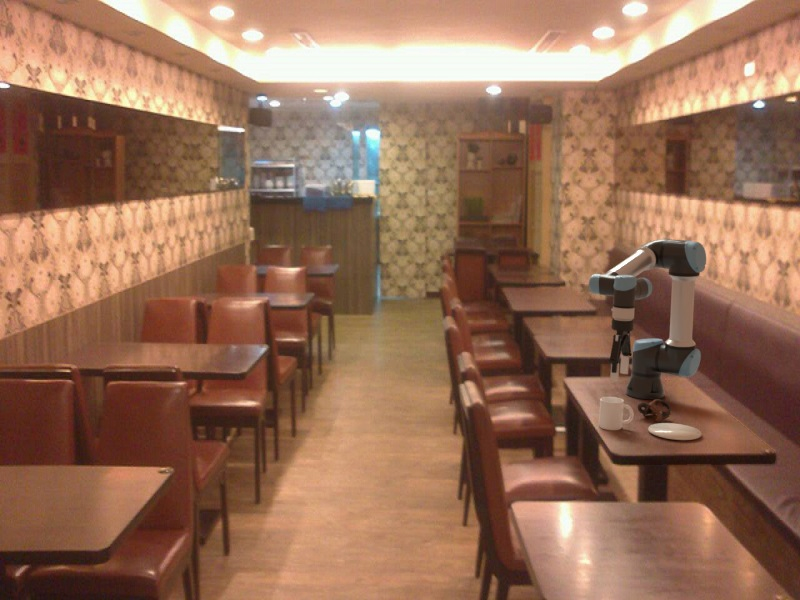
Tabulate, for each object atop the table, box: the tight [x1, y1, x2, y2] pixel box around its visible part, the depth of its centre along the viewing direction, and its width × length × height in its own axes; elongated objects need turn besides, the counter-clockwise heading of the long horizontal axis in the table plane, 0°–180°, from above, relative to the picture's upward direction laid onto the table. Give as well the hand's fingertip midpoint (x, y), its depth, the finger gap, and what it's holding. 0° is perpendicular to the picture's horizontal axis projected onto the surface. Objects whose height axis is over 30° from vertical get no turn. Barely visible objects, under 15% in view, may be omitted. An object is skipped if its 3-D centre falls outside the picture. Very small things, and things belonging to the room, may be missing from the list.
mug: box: [598, 396, 635, 431], centre depth 333 cm, size 12×8×10 cm
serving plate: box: [648, 422, 702, 441], centre depth 328 cm, size 18×18×1 cm
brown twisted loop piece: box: [637, 399, 672, 423], centre depth 346 cm, size 12×10×8 cm
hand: (619, 377), depth 331 cm, fingers open, 13 cm apart
